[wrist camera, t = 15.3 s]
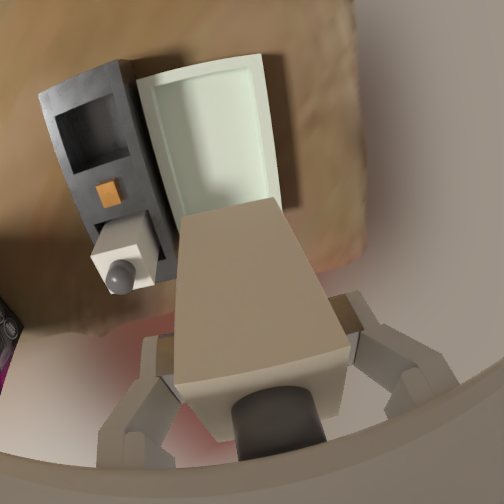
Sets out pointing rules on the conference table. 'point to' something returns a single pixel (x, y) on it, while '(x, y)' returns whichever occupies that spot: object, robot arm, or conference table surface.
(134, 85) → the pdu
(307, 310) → the twin
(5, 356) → the graphics card box
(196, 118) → the tray
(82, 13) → the conference table surface
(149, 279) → the plug
